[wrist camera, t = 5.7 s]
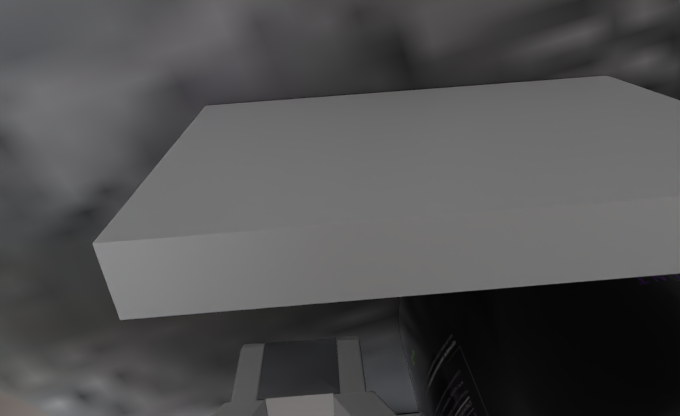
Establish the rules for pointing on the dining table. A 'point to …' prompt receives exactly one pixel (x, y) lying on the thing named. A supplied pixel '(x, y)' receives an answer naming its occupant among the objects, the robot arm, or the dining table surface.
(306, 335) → the dining table surface
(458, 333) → the supplement bottle
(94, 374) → the dining table surface
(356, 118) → the channel
